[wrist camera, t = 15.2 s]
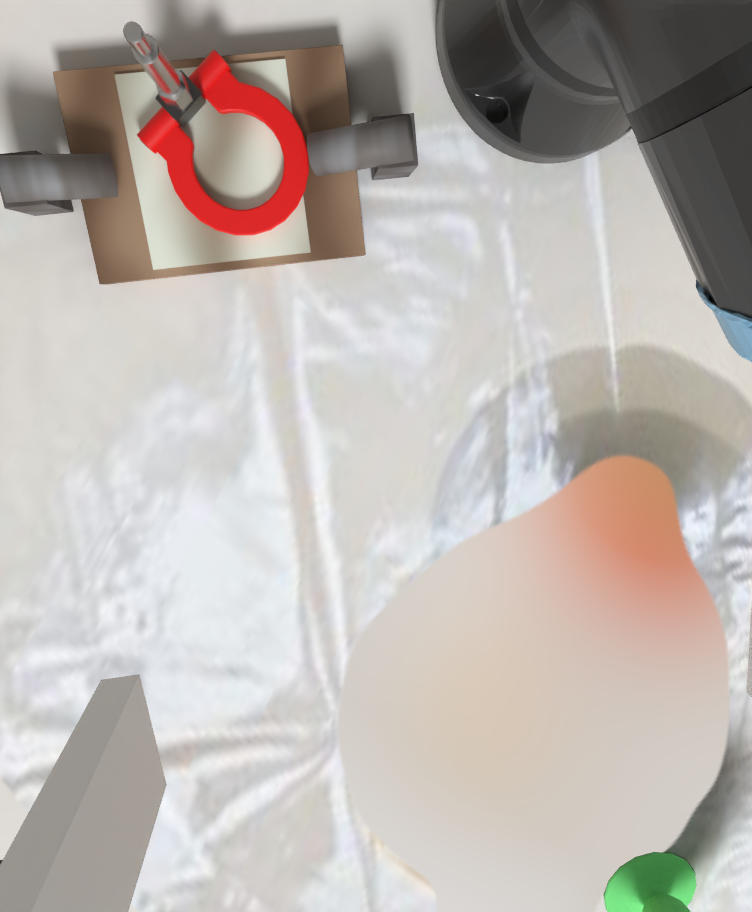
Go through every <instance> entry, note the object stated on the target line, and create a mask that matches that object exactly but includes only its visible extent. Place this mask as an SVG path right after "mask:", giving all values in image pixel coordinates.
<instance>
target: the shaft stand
mask: <svg viewBox="0 0 752 912" xmlns="http://www.w3.org/2000/svg"><path fill="white" fill-rule="evenodd" d="M221 57H222V58H223V59H224V60H225V62H226V63H227V64H228V66H229V67H230V69H231V73H232V75H233V76H234V77H235V78H236V79H237V80H238V81H239V82H242V83H246V84H249V85H252V86H255V87H259V88H261V89H263V90H265V91H266V92H268V93H269V94H271V95H273V96H274V97H276V98H277V99H279V101H280V102H281V103H282V104H283V105H284V106H285V107H286V108H287V109H288V110H289V111H290V112H291V113H292V115H293V116H294V118H295V120H296V122H297V123H298V125H299V127H300V129H301V130H302V132H303V136H304V139H305V143H306V146H307V151H308V163H309V173H308V178H307V183H306V188H305V192H304V194H303V196H302V198H301V200H300V202H299V204H298V206H297V208H296V209H295V210H294V211H293V212H292V214H291V215H290V216H289V217H288V218H287V219H286V220H285V221H284V222H283V223H281V224H279V225H278V226H276V227H275V228H273V229H272V230H270V231H266V232H263V233H260V234H257V235H243V236H236V235H232V234H228V233H224V232H220V231H217V230H215V229H213V228H212V227H210V226H208V225H206V224H204V223H203V222H201V221H200V220H198V219H197V218H196V217H195V216H194V215H193V214H192V213H191V212H190V211H189V210H188V209H187V208H186V207H185V206H184V204H183V203H182V201H181V199H180V198H179V196H178V195H177V193H176V192H175V190H174V187H173V184H172V182H171V179H170V176H169V173H168V169H167V161H166V160H165V159H164V158H163V157H162V156H161V155H160V154H159V153H158V152H157V153H156V154H155V153H153V152H152V151H150V150H149V149H148V148H147V147H146V146H145V145H144V144H143V143H142V142H141V141H140V139H139V138H138V136H137V134H138V133H139V132H140V130H141V129H142V128H143V127H144V126H145V125H146V124H147V123H148V122H149V120H150V119H151V118H152V117H153V116H154V115H155V114H156V113H157V112H158V110H159V109H160V108H161V107H162V106H161V104H160V103H159V102H158V101H157V100H156V96H157V95H158V90H157V87H156V84H155V82H154V81H153V80H152V79H151V77H150V76H149V75H148V74H147V72H146V71H145V70H144V69H143V68H142V66H141V65H140V64H131V65H120V66H109V67H98V68H87V69H77V70H66V71H55V72H53V76H54V80H55V85H56V89H57V94H58V98H59V103H60V107H61V112H62V116H63V121H64V125H65V130H66V134H67V139H68V143H69V148H70V152H71V154H50V155H43V154H41V153H39V152H37V151H27V152H17V153H7V154H0V191H1V195H2V199H3V203H4V207H5V208H6V209H10V210H14V211H18V212H22V213H26V214H30V215H34V216H37V215H47V214H56V213H66V212H73V207H72V203H71V200H72V199H81V202H82V206H83V211H84V215H85V220H86V224H87V229H88V233H89V238H90V242H91V247H92V251H93V256H94V260H95V265H96V269H97V274H98V279H99V283H100V284H114V283H123V282H132V281H141V280H150V279H159V278H168V277H177V276H186V275H194V274H203V273H212V272H221V271H230V270H239V269H248V268H257V267H266V266H275V265H284V264H293V263H302V262H311V261H320V260H328V259H337V258H346V257H355V256H364V255H365V246H364V236H363V227H362V218H361V209H360V200H359V191H358V181H357V172H356V170H360V169H366V168H371V172H372V180H380V179H390V178H399V177H409V175H410V174H411V173H412V172H413V171H414V170H415V168H416V167H417V166H418V158H417V146H416V134H415V122H414V113H411V114H401V115H391V116H381V117H373V119H372V122H367V123H361V124H356V125H351V117H350V108H349V99H348V90H347V81H346V72H345V62H344V53H343V45H338V46H327V47H316V48H305V49H294V50H283V51H273V52H262V53H251V54H240V55H229V56H221ZM204 60H205V58H196V59H185V60H175V61H169V62H170V63H171V65H172V66H173V68H174V69H176V70H182V71H183V72H184V73H185V75H186V76H187V77H189V76H190V75H191V74H192V73H193V72H194V71H195V70H196V68H197V67H198V66H199V65H200V64H201V63H202V62H203V61H204ZM180 128H181V129H182V130H183V131H184V132H185V134H186V135H187V136H188V137H189V138H190V139H191V140H192V141H193V143H194V146H195V148H194V155H193V159H194V169H195V172H196V175H197V178H198V181H199V183H200V184H201V186H202V187H203V189H204V191H205V192H206V193H207V194H208V195H209V196H210V197H211V198H212V199H213V200H214V201H216V202H217V203H219V204H221V205H223V206H224V207H228V208H232V209H236V210H248V209H251V208H255V207H258V206H260V205H262V204H263V203H265V202H266V201H268V200H269V199H270V198H271V197H272V196H273V195H274V193H275V192H276V191H277V189H278V187H279V185H280V183H281V181H282V177H283V172H284V156H283V152H282V149H281V146H280V143H279V141H278V140H277V138H276V136H275V135H274V133H273V132H272V131H271V130H270V129H269V128H268V127H267V126H266V125H265V123H263V122H261V121H260V120H258V119H257V118H255V117H253V116H250V115H246V114H243V113H228V114H225V115H224V114H220V113H219V112H218V111H217V110H216V109H215V108H214V107H213V106H212V105H211V104H210V103H209V101H208V100H207V99H206V103H205V104H204V106H203V107H202V108H201V109H200V110H199V111H198V112H197V113H196V114H195V115H194V117H193V118H192V119H191V120H190V121H189V122H188V123H187V124H186V125H185V126H184V127H180Z"/></svg>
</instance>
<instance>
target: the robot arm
mask: <svg viewBox="0 0 752 912" xmlns="http://www.w3.org/2000/svg"><path fill="white" fill-rule="evenodd" d="M436 44H437V53H438V59H439V65H440V69H441V73H442V77H443V80H444V83H445V86H446V88H447V91H448V93H449V95H450V97H451V99H452V102H453V103H454V105H455V107H456V109H457V110H458V112H459V113H460V115H461V116H462V118H463V119H464V120H465V122H466V123H467V124H468V125H469V126H470V128H471V129H472V130H473V131H474V132H475V133H476V134H477V135H478V136H479V137H480V138H482V139H483V140H484V141H485V142H487V143H488V144H489V145H491V146H492V147H494V148H495V149H497V150H499V151H501V152H503V153H505V154H507V155H509V156H512V157H514V158H517V159H520V160H524V161H529V162H535V163H560V162H567V161H571V160H575V159H578V158H581V157H584V156H587V155H589V154H591V153H593V152H595V151H598V150H600V149H602V148H604V147H606V146H608V145H610V144H611V143H613V142H615V141H616V140H618V139H620V138H621V137H622V136H624V135H625V134H627V133H628V132H629V131H630V130H631V129H633V132H634V134H635V136H636V138H637V142H638V145H639V147H640V150H641V152H642V154H643V157H644V159H645V161H646V164H647V166H648V168H649V170H650V173H651V175H652V177H653V180H654V182H655V184H656V187H657V189H658V191H659V193H660V196H661V198H662V200H663V203H664V205H665V207H666V210H667V212H668V214H669V217H670V219H671V221H672V223H673V226H674V228H675V230H676V233H677V235H678V237H679V240H680V242H681V244H682V246H683V249H684V251H685V253H686V256H687V258H688V260H689V263H690V265H691V267H692V269H693V272H694V274H695V276H696V279H697V280H696V288H697V290H698V293H699V295H700V297H701V299H702V300H703V301H704V303H705V304H706V305H707V306H708V307H709V308H711V309H712V310H713V312H714V314H715V316H716V318H717V320H718V322H719V324H720V326H721V328H722V330H723V332H724V334H725V336H726V338H727V340H728V342H729V343H730V345H731V346H732V348H733V349H734V350H735V351H736V352H737V353H738V354H739V355H740V356H741V357H742V358H744V359H747V360H749V361H751V362H752V0H439V5H438V11H437V22H436ZM747 693H748V694H749V695H750V696H751V697H752V609H751V626H750V643H749V660H748V677H747ZM165 787H166V781H165V777H164V773H163V769H162V765H161V761H160V757H159V753H158V748H157V744H156V740H155V736H154V732H153V728H152V724H151V720H150V716H149V712H148V708H147V704H146V700H145V695H144V691H143V687H142V683H141V679H140V675H132V676H125V677H119V678H112V679H105V680H101V681H100V683H99V685H98V687H97V689H96V691H95V692H94V694H93V696H92V698H91V700H90V702H89V703H88V705H87V707H86V709H85V711H84V713H83V714H82V716H81V718H80V720H79V722H78V724H77V725H76V727H75V729H74V731H73V733H72V734H71V736H70V738H69V740H68V742H67V744H66V745H65V747H64V749H63V751H62V753H61V755H60V756H59V758H58V760H57V762H56V764H55V766H54V767H53V769H52V771H51V773H50V775H49V777H48V778H47V780H46V782H45V784H44V786H43V788H42V789H41V791H40V793H39V795H38V797H37V799H36V800H35V802H34V804H33V806H32V808H31V810H30V811H29V813H28V815H27V817H26V819H25V820H24V822H23V824H22V826H21V828H20V830H19V832H18V834H17V835H16V837H15V839H14V841H13V843H12V844H11V846H10V848H9V850H8V852H7V853H6V855H5V857H4V859H3V860H0V912H128V910H129V907H130V903H131V900H132V897H133V893H134V890H135V887H136V883H137V880H138V877H139V874H140V870H141V867H142V864H143V860H144V857H145V854H146V850H147V847H148V844H149V840H150V837H151V834H152V830H153V827H154V824H155V820H156V817H157V814H158V810H159V807H160V804H161V801H162V797H163V794H164V791H165Z"/></svg>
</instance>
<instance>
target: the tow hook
mask: <svg viewBox="0 0 752 912" xmlns="http://www.w3.org/2000/svg"><path fill="white" fill-rule="evenodd" d="M123 33H124V36H125V38H126V40H127V41H128V42H129V43H130V45H131V51H132V54H133V56H134V57H135V59H136V60H137V61H138V63H139V64H140V65H141V66H142V68H143V69H144V70H145V71H146V72H147V74H148V75H149V76H150V77H151V79H152V80H153V81H154V82H155V84H156V87H157V90H158V95H157V96H156V100H157V101H158V102H159V103H160V104H161V106H162V107H161V108H160V109H159V110H158V112H157V113H156V114H155V115H154V116H153V117H152V118H151V119H150V120H149V122H148V123H147V124H146V125H145V126H144V127H143V128H142V129H141V130H140V132H139V133H138V134H137V136H138V138H139V139H140V141H141V142H142V143H143V144H144V145H145V146H146V147H147V148H148V149H149V150H150V151H152V152H153V153H155V154H156V153H157V152H158V153H159V154H160V155H161V156H162V157H163V158H164V159H165V160H166V161H167V169H168V173H169V176H170V179H171V182H172V184H173V187H174V190H175V192H176V193H177V195H178V196H179V198H180V199H181V201H182V203H183V204H184V206H185V207H186V208H187V209H188V210H189V211H190V212H191V213H192V214H193V215H194V216H195V217H196V218H197V219H198V220H200V221H201V222H203V223H204V224H206V225H208V226H210V227H212V228H213V229H215V230H217V231H220V232H224V233H228V234H232V235H236V236H243V235H257V234H260V233H263V232H266V231H270V230H272V229H273V228H275V227H276V226H278V225H279V224H281V223H283V222H284V221H285V220H286V219H287V218H288V217H289V216H290V215H291V214H292V212H293V211H294V210H295V209H296V208H297V206H298V204H299V202H300V200H301V198H302V196H303V194H304V192H305V188H306V183H307V178H308V173H309V163H308V151H307V146H306V143H305V139H304V136H303V132H302V130H301V129H300V127H299V125H298V123H297V122H296V120H295V118H294V116H293V115H292V113H291V112H290V111H289V110H288V109H287V108H286V107H285V106H284V105H283V104H282V103H281V102H280V101H279V99H277V98H276V97H274V96H273V95H271V94H269V93H268V92H266V91H265V90H263V89H261V88H259V87H255V86H252V85H249V84H246V83H242V82H239V81H238V80H237V79H236V78H235V77H234V76H233V75H232V73H231V69H230V67H229V66H228V64H227V63H226V62H225V60H224V59H223V58H222V57H221V56H220V55H219V54H218V53H217V52H216V51H215V50H213V51H212V52H211V53H210V54H209V55H208V56H207V57H206V58H205V60H204V61H203V62H202V63H201V64H200V65H199V66H198V67H197V68H196V70H195V71H194V72H193V73H192V74H191V75H190V76H189V77H187V76H186V75H185V73H184V72H183V71H182V70H176V69H174V68H173V66H172V65H171V63H170V62H169V60H168V59H167V57H166V56H165V54H164V53H163V51H162V49H161V48H160V46H159V45H158V43H157V42H156V40H155V39H154V38H153V37H152V36H150V35H148V34H145V32H144V31H143V29H142V28H141V27H140V25H139V24H137V23H136V22H128V23H127V24H125V26H124V29H123ZM206 99H207V100H208V101H209V103H210V104H211V105H212V106H213V107H214V108H215V109H216V110H217V111H218V112H219V113H220V114H224V115H225V114H228V113H243V114H246V115H250V116H253V117H255V118H257V119H258V120H260V121H261V122H263V123H265V125H266V126H267V127H268V128H269V129H270V130H271V131H272V132H273V133H274V135H275V136H276V138H277V140H278V141H279V143H280V146H281V149H282V152H283V156H284V172H283V177H282V181H281V183H280V185H279V187H278V189H277V191H276V192H275V193H274V195H273V196H272V197H271V198H270V199H269V200H268V201H266V202H265V203H263V204H262V205H260V206H258V207H255V208H251V209H248V210H236V209H232V208H228V207H224V206H223V205H221V204H219V203H217V202H216V201H214V200H213V199H212V198H211V197H210V196H209V195H208V194H207V193H206V192H205V191H204V189H203V187H202V186H201V184H200V183H199V181H198V178H197V175H196V172H195V169H194V159H193V155H194V148H195V146H194V143H193V141H192V140H191V139H190V138H189V137H188V136H187V135H186V134H185V132H184V131H183V130H182V129H181V128H180V127H184V126H185V125H186V124H187V123H188V122H189V121H190V120H191V119H192V118H193V117H194V115H195V114H196V113H197V112H198V111H199V110H200V109H201V108H202V107H203V106H204V104H205V103H206Z"/></svg>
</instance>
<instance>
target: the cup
mask: <svg viewBox="0 0 752 912" xmlns="http://www.w3.org/2000/svg"><path fill="white" fill-rule="evenodd" d="M695 889H696V879H695V872H694V870H693V869H692V868H691V866H690V865H689V864H688V863H687V861H686V860H685V859H683V858H681V857H678V856H676V855H674V854H672V853H659V852H653V853H649V854H645V855H642V856H638V857H635V858H633V859H632V860H630V861H629V862H627V863H625V864H624V865H622V866H621V867H619V869H618V870H617V871H616V872H615V874H614V875H613V876H612V877H611V879H610V880H609V881H608V884H607V887H606V891H605V894H604V899H605V905H606V910H607V911H608V912H690V910H689V909H688V908H687V907H686V906H687V905H688V904H689V903H690V902H691V900H692V897H693V894H694V891H695Z"/></svg>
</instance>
